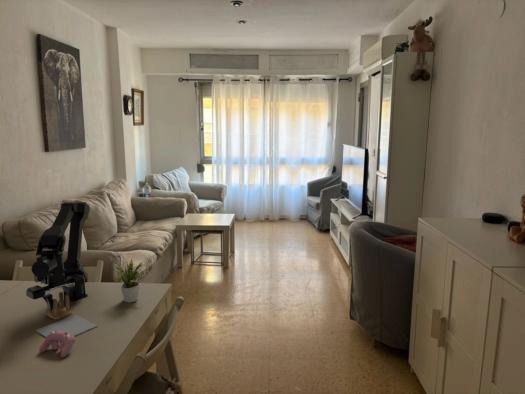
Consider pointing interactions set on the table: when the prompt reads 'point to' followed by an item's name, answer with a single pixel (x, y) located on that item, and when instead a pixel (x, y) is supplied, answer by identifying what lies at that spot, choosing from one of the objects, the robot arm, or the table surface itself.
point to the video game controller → (55, 344)
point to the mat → (68, 326)
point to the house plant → (130, 282)
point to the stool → (62, 310)
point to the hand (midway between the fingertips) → (58, 307)
